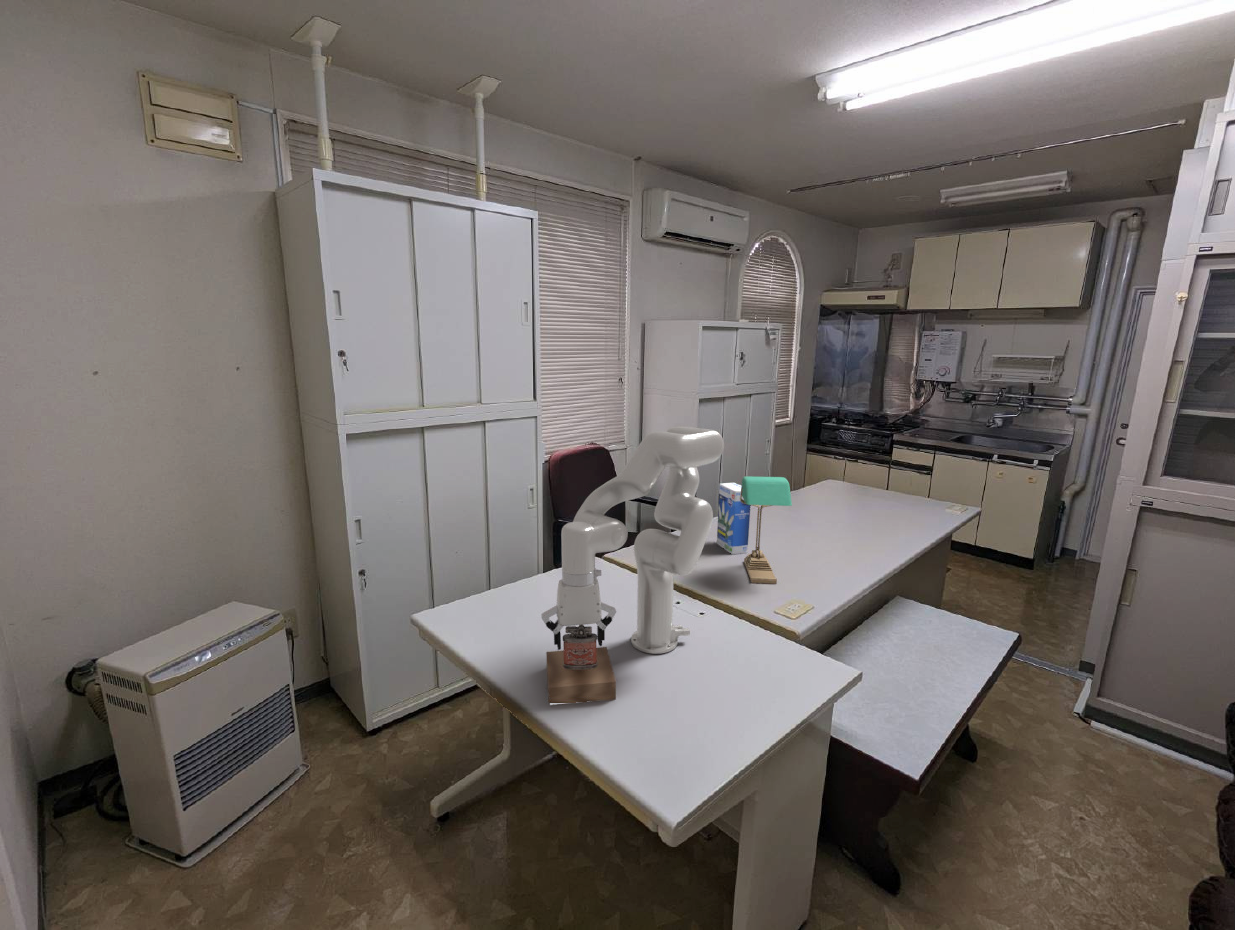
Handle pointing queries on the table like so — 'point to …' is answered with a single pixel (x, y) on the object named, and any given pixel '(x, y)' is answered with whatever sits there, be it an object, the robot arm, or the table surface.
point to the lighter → (579, 648)
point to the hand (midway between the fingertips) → (579, 644)
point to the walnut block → (580, 679)
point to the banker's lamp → (756, 494)
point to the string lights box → (732, 519)
